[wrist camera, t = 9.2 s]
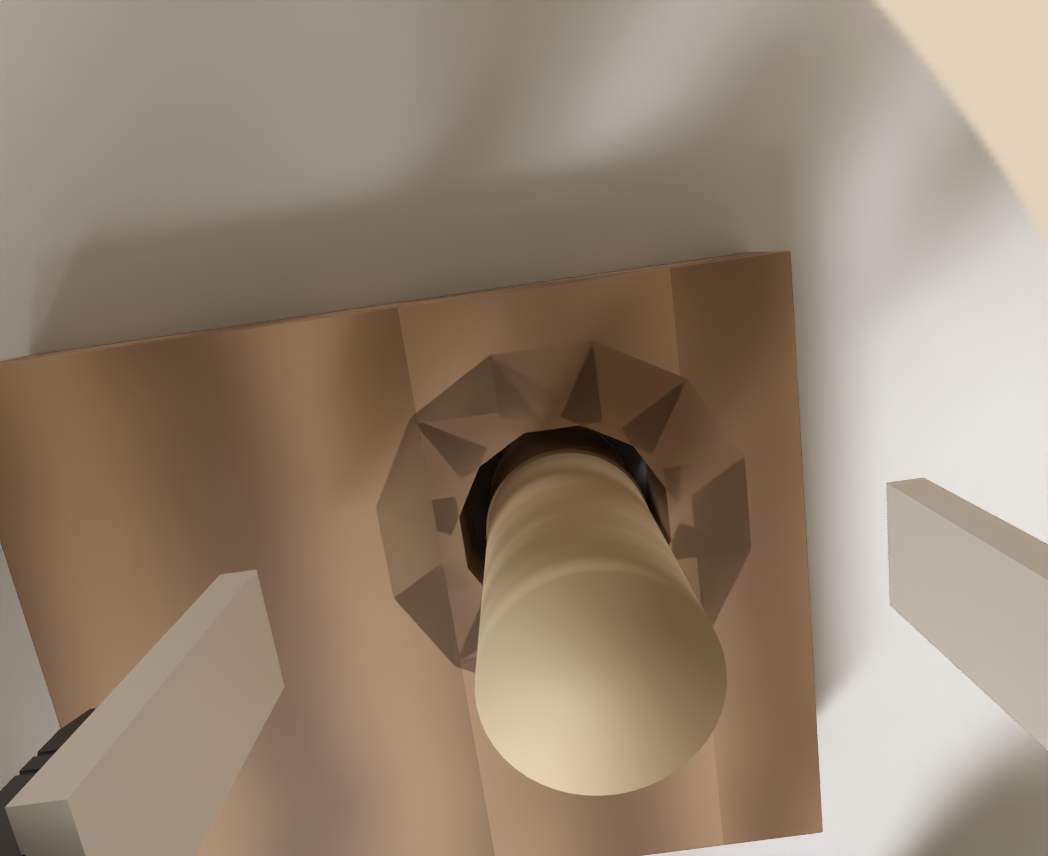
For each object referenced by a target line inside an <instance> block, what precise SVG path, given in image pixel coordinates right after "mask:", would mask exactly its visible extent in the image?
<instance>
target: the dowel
mask: <svg viewBox="0 0 1048 856" xmlns="http://www.w3.org/2000/svg"><path fill="white" fill-rule="evenodd" d="M486 536H487V546H486V557H485V569H484V580H483V591H482V603H481V614H480V625H479V637H478V648H477V659H476V671H475V699H476V707H477V710H478V714H479V717H480V721H481V723H482V725H483V728H484V730H485V732H486V734H487V736H488V738H489V739H490V741H491V742H492V744H493V746H494V747H495V748H496V749H497V751H498V752H499V753H500V754H501V755H502V757H503V758H504V759H505V760H506V761H507V762H509V763H510V764H511V765H512V766H513V767H514V768H515V769H517V770H518V771H520V772H521V773H522V774H524V775H525V776H527V777H528V778H530V779H532V780H534V781H536V782H538V783H540V784H542V785H545V786H547V787H550V788H552V789H555V790H559V791H563V792H567V793H571V794H579V795H588V796H605V795H615V794H621V793H626V792H631V791H635V790H638V789H641V788H644V787H647V786H650V785H652V784H654V783H656V782H658V781H660V780H662V779H664V778H666V777H667V776H669V775H671V774H672V773H674V772H676V771H677V770H678V769H680V768H681V767H682V766H683V765H685V764H686V763H687V762H688V761H689V760H690V759H691V758H692V757H693V756H694V755H695V754H696V753H697V752H698V751H699V750H700V749H701V748H702V746H703V745H704V744H705V742H706V741H707V740H708V739H709V737H710V735H711V733H712V732H713V730H714V728H715V727H716V725H717V722H718V720H719V717H720V715H721V712H722V709H723V705H724V701H725V697H726V688H727V668H726V662H725V657H724V652H723V650H722V647H721V644H720V641H719V638H718V636H717V635H716V633H715V631H714V629H713V627H712V625H711V623H710V621H709V619H708V618H707V616H706V614H705V612H704V610H703V608H702V606H701V605H700V603H699V601H698V599H697V597H696V595H695V593H694V592H693V590H692V588H691V586H690V584H689V582H688V581H687V579H686V577H685V575H684V573H683V571H682V569H681V568H680V566H679V564H678V562H677V560H676V558H675V557H674V555H673V553H672V551H671V549H670V547H669V545H668V544H667V542H666V540H665V538H664V536H663V534H662V532H661V531H660V529H659V527H658V525H657V523H656V521H655V520H654V518H653V516H652V514H651V512H650V510H649V508H648V505H647V502H646V500H645V497H644V495H643V493H642V491H641V489H640V487H639V486H638V484H637V482H636V481H635V480H634V478H633V477H632V475H631V474H630V473H629V471H628V470H627V468H626V466H625V464H624V462H623V460H622V458H621V457H620V455H619V453H618V452H617V451H616V449H615V448H614V447H613V446H612V445H611V444H610V443H609V442H608V441H607V440H606V439H605V438H604V437H602V436H601V435H599V434H598V433H596V432H594V431H592V430H590V429H588V428H585V427H582V426H571V427H564V428H557V429H549V430H542V431H535V432H528V433H525V434H523V435H522V436H520V437H519V438H517V439H516V440H515V441H514V442H513V443H512V444H511V445H510V446H509V447H508V448H507V449H506V451H505V452H504V453H503V455H502V456H501V458H500V460H499V462H498V464H497V466H496V469H495V472H494V475H493V481H492V489H491V501H490V505H489V509H488V515H487V523H486Z"/></svg>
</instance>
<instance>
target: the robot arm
mask: <svg viewBox="0 0 1048 856" xmlns="http://www.w3.org/2000/svg"><path fill="white" fill-rule="evenodd" d="M886 490H887V525H888V560H889V595H890V606H891V607H892V608H893V609H894V610H896V611H897V612H898V613H899V614H900V615H901V616H902V617H903V618H904V619H905V620H906V621H907V622H909V623H910V624H911V625H912V626H913V627H914V628H915V629H916V630H917V631H918V632H919V633H920V634H922V635H923V636H924V637H925V638H926V639H927V640H928V641H929V642H930V643H931V644H932V645H933V646H935V647H936V648H937V649H938V650H939V651H940V652H941V653H942V654H943V655H944V656H945V657H946V658H948V659H949V660H950V661H951V662H952V663H953V664H954V665H955V666H956V667H957V668H958V669H959V670H961V671H962V672H963V673H964V674H965V675H966V676H967V677H968V678H969V679H970V680H971V681H972V682H974V683H975V684H976V685H977V686H978V687H979V688H980V689H981V690H982V691H983V692H984V693H985V694H987V695H988V696H989V697H990V698H991V699H992V700H993V701H994V702H995V703H996V704H997V705H998V706H1000V707H1001V708H1002V709H1003V710H1004V711H1005V712H1006V713H1007V714H1008V715H1009V716H1010V717H1011V718H1013V719H1014V720H1015V721H1016V722H1017V723H1018V724H1019V725H1020V726H1021V727H1022V728H1023V729H1024V730H1026V731H1027V732H1028V733H1029V734H1030V735H1031V736H1032V737H1033V738H1034V739H1035V740H1036V741H1037V742H1039V743H1040V744H1041V745H1042V746H1043V747H1044V748H1045V749H1046V750H1047V751H1048V544H1046V543H1044V542H1043V541H1041V540H1039V539H1037V538H1035V537H1033V536H1031V535H1029V534H1028V533H1026V532H1024V531H1022V530H1020V529H1018V528H1016V527H1015V526H1013V525H1011V524H1009V523H1007V522H1005V521H1003V520H1001V519H1000V518H998V517H996V516H994V515H992V514H990V513H988V512H987V511H985V510H983V509H981V508H979V507H977V506H975V505H974V504H972V503H970V502H968V501H966V500H964V499H962V498H960V497H959V496H957V495H955V494H953V493H951V492H949V491H947V490H946V489H944V488H942V487H940V486H938V485H936V484H934V483H932V482H931V481H929V480H927V479H925V478H918V479H911V480H904V481H896V482H889V483H886ZM284 687H285V686H284V682H283V678H282V674H281V670H280V665H279V661H278V657H277V653H276V649H275V645H274V641H273V636H272V632H271V628H270V624H269V620H268V616H267V611H266V607H265V603H264V599H263V595H262V591H261V587H260V582H259V578H258V574H257V570H249V571H242V572H235V573H227V574H220V575H219V576H218V577H217V579H216V580H215V581H214V582H213V583H212V584H211V585H210V586H209V587H208V588H207V589H206V590H205V591H204V593H203V594H202V595H201V596H200V597H199V598H198V599H197V600H196V601H195V602H194V603H193V604H192V606H191V607H190V608H189V609H188V610H187V611H186V612H185V613H184V614H183V615H182V616H181V617H180V619H179V620H178V621H177V622H176V623H175V624H174V625H173V626H172V627H171V628H170V629H169V630H168V631H167V633H166V634H165V635H164V636H163V637H162V638H161V639H160V640H159V641H158V642H157V643H156V644H155V646H154V647H153V648H152V649H151V650H150V651H149V652H148V653H147V654H146V655H145V656H144V657H143V659H142V660H141V661H140V662H139V663H138V664H137V665H136V666H135V667H134V668H133V669H132V670H131V671H130V673H129V674H128V675H127V676H126V677H125V678H124V679H123V680H122V681H121V682H120V683H119V684H118V686H117V687H116V688H115V689H114V690H113V691H112V692H111V693H110V694H109V695H108V696H107V697H106V699H105V700H104V701H103V702H102V703H101V704H100V705H99V706H98V707H97V708H92V709H89V710H88V711H86V712H85V713H83V714H82V715H80V716H79V717H77V718H76V719H74V720H73V721H71V722H70V723H69V724H67V725H66V726H64V727H63V728H61V729H60V730H59V731H58V732H57V733H56V734H55V735H54V736H53V737H52V738H51V739H50V740H49V741H48V742H47V743H46V744H45V745H44V746H43V747H42V748H41V749H40V750H39V751H38V755H37V756H36V757H33V758H32V759H31V760H30V761H29V762H28V763H27V764H26V765H25V766H24V767H23V768H22V769H21V770H20V774H19V776H14V777H13V779H12V780H11V781H10V782H9V783H8V784H7V785H6V786H5V787H4V788H3V789H2V790H1V791H0V856H195V854H196V852H197V850H198V848H199V846H200V844H201V843H202V841H203V839H204V837H205V835H206V833H207V831H208V829H209V828H210V826H211V824H212V822H213V820H214V818H215V816H216V814H217V813H218V811H219V809H220V807H221V805H222V803H223V801H224V799H225V798H226V796H227V794H228V792H229V790H230V788H231V786H232V784H233V783H234V781H235V779H236V777H237V775H238V773H239V771H240V769H241V767H242V766H243V764H244V762H245V760H246V758H247V756H248V754H249V752H250V751H251V749H252V747H253V745H254V743H255V741H256V739H257V737H258V736H259V734H260V732H261V730H262V728H263V726H264V724H265V722H266V721H267V719H268V717H269V715H270V713H271V711H272V709H273V707H274V706H275V704H276V702H277V700H278V698H279V696H280V694H281V692H282V691H283V689H284Z"/></svg>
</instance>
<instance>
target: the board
mask: <svg viewBox="0 0 1048 856" xmlns="http://www.w3.org/2000/svg"><path fill="white" fill-rule="evenodd" d="M578 425H582V426H584V427H587V428H589V429H592V430H594V431H597V432H599V433H602V434H604V435H607V436H610V437H612V438H615V439H617V440H620V441H622V442H625V443H627V444H630V445H632V446H634V448H635V449H636V450H637V452H638V453H639V454H640V455H641V457H642V458H643V459H644V461H645V463H646V472H647V481H648V491H649V500H650V502H649V505H648V508H649V510H650V512H651V514H652V516H653V518H654V520H655V521H656V523H657V525H658V527H659V529H660V531H661V532H662V534H663V536H664V538H665V540H666V542H667V544H668V545H669V547H670V549H671V551H672V553H673V555H674V557H675V558H676V560H677V562H678V564H679V566H680V568H681V569H682V571H683V573H684V575H685V577H686V579H687V581H688V582H689V584H690V586H691V588H692V590H693V592H694V593H695V595H696V597H697V599H698V601H699V603H700V605H701V606H702V608H703V610H704V612H705V614H706V616H707V618H708V619H709V621H710V623H711V625H712V627H713V629H714V631H715V633H716V635H717V636H718V638H719V641H720V644H721V647H722V650H723V652H724V657H725V662H726V668H727V688H726V697H725V701H724V705H723V709H722V712H721V715H720V717H719V720H718V722H717V725H716V727H715V728H714V730H713V732H712V733H711V735H710V737H709V739H708V740H707V741H706V742H705V744H704V745H703V746H702V748H701V749H700V750H699V751H698V752H697V753H696V754H695V755H694V756H693V757H692V758H691V759H690V760H689V761H688V762H687V763H686V764H685V765H683V766H682V767H681V768H680V769H678V770H677V771H676V772H674V773H672V774H671V775H669V776H667V777H666V778H664V779H662V780H660V781H658V782H656V783H654V784H652V785H650V786H647V787H644V788H641V789H638V790H635V791H631V792H626V793H621V794H615V795H605V796H588V795H579V794H571V793H567V792H563V791H559V790H555V789H552V788H550V787H547V786H545V785H542V784H540V783H538V782H536V781H534V780H532V779H530V778H528V777H527V776H525V775H524V774H522V773H521V772H520V771H518V770H517V769H515V768H514V767H513V766H512V765H511V764H510V763H509V762H507V761H506V760H505V759H504V758H503V757H502V755H501V754H500V753H499V752H498V751H497V749H496V748H495V747H494V746H493V744H492V742H491V741H490V739H489V738H488V736H487V734H486V732H485V730H484V728H483V725H482V723H481V721H480V717H479V714H478V710H477V707H476V699H475V671H476V659H477V648H478V637H479V625H480V614H481V603H482V591H483V580H484V569H485V557H486V546H487V541H486V540H485V539H484V538H483V536H482V535H481V534H480V533H479V532H478V530H477V529H476V528H475V527H474V524H473V518H472V512H471V506H470V500H469V491H470V489H471V486H472V484H473V481H474V479H475V476H476V474H477V471H478V469H479V467H480V466H481V465H483V464H484V463H485V462H487V461H488V460H489V459H491V458H492V457H493V456H494V455H496V454H497V453H498V452H500V451H501V450H502V449H504V448H505V447H506V446H508V445H509V444H510V443H512V442H513V441H514V440H515V439H517V438H518V437H519V436H521V435H522V434H523V433H528V432H535V431H542V430H549V429H557V428H564V427H571V426H578ZM0 542H1V545H2V548H3V551H4V554H5V557H6V560H7V564H8V567H9V570H10V573H11V576H12V579H13V582H14V585H15V588H16V591H17V594H18V597H19V601H20V604H21V607H22V610H23V613H24V616H25V619H26V622H27V625H28V628H29V631H30V634H31V638H32V641H33V644H34V647H35V650H36V653H37V656H38V659H39V662H40V665H41V668H42V672H43V675H44V678H45V681H46V684H47V687H48V690H49V693H50V696H51V699H52V702H53V705H54V709H55V712H56V715H57V718H58V721H59V724H60V727H61V728H63V727H64V726H66V725H67V724H69V723H70V722H71V721H73V720H74V719H76V718H77V717H79V716H80V715H82V714H83V713H85V712H86V711H88V710H89V709H92V708H97V707H98V706H99V705H100V704H101V703H102V702H103V701H104V700H105V699H106V697H107V696H108V695H109V694H110V693H111V692H112V691H113V690H114V689H115V688H116V687H117V686H118V684H119V683H120V682H121V681H122V680H123V679H124V678H125V677H126V676H127V675H128V674H129V673H130V671H131V670H132V669H133V668H134V667H135V666H136V665H137V664H138V663H139V662H140V661H141V660H142V659H143V657H144V656H145V655H146V654H147V653H148V652H149V651H150V650H151V649H152V648H153V647H154V646H155V644H156V643H157V642H158V641H159V640H160V639H161V638H162V637H163V636H164V635H165V634H166V633H167V631H168V630H169V629H170V628H171V627H172V626H173V625H174V624H175V623H176V622H177V621H178V620H179V619H180V617H181V616H182V615H183V614H184V613H185V612H186V611H187V610H188V609H189V608H190V607H191V606H192V604H193V603H194V602H195V601H196V600H197V599H198V598H199V597H200V596H201V595H202V594H203V593H204V591H205V590H206V589H207V588H208V587H209V586H210V585H211V584H212V583H213V582H214V581H215V580H216V579H217V577H218V576H219V575H220V574H227V573H235V572H242V571H249V570H257V574H258V578H259V582H260V587H261V591H262V595H263V599H264V603H265V607H266V611H267V616H268V620H269V624H270V628H271V632H272V636H273V641H274V645H275V649H276V653H277V657H278V661H279V665H280V670H281V674H282V678H283V682H284V686H285V687H284V689H283V691H282V692H281V694H280V696H279V698H278V700H277V702H276V704H275V706H274V707H273V709H272V711H271V713H270V715H269V717H268V719H267V721H266V722H265V724H264V726H263V728H262V730H261V732H260V734H259V736H258V737H257V739H256V741H255V743H254V745H253V747H252V749H251V751H250V752H249V754H248V756H247V758H246V760H245V762H244V764H243V766H242V767H241V769H240V771H239V773H238V775H237V777H236V779H235V781H234V783H233V784H232V786H231V788H230V790H229V792H228V794H227V796H226V798H225V799H224V801H223V803H222V805H221V807H220V809H219V811H218V813H217V814H216V816H215V818H214V820H213V822H212V824H211V826H210V828H209V829H208V831H207V833H206V835H205V837H204V839H203V841H202V843H201V844H200V846H199V848H198V850H197V852H196V854H195V856H642V855H650V854H658V853H666V852H673V851H681V850H689V849H697V848H704V847H712V846H720V845H728V844H735V843H743V842H751V841H759V840H766V839H774V838H782V837H789V836H797V835H805V834H813V833H820V832H823V829H822V811H821V793H820V775H819V757H818V739H817V722H816V704H815V686H814V668H813V650H812V632H811V614H810V596H809V578H808V560H807V542H806V524H805V506H804V488H803V470H802V452H801V434H800V416H799V398H798V380H797V362H796V345H795V327H794V309H793V291H792V273H791V255H790V251H784V252H748V253H741V254H734V255H727V256H720V257H713V258H706V259H699V260H692V261H685V262H678V263H671V264H664V265H657V266H650V267H643V268H637V269H630V270H623V271H616V272H609V273H602V274H595V275H588V276H581V277H574V278H567V279H560V280H553V281H546V282H539V283H532V284H525V285H518V286H511V287H504V288H497V289H490V290H483V291H476V292H469V293H462V294H455V295H448V296H442V297H435V298H428V299H421V300H414V301H407V302H400V303H393V304H386V305H379V306H372V307H365V308H358V309H351V310H344V311H337V312H330V313H323V314H316V315H309V316H302V317H295V318H288V319H281V320H274V321H267V322H260V323H253V324H246V325H240V326H233V327H226V328H219V329H212V330H205V331H198V332H191V333H184V334H177V335H170V336H163V337H156V338H149V339H142V340H135V341H128V342H121V343H114V344H107V345H100V346H93V347H86V348H79V349H72V350H65V351H58V352H51V353H45V354H38V355H31V356H25V357H20V358H15V359H10V360H5V361H0Z"/></svg>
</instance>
